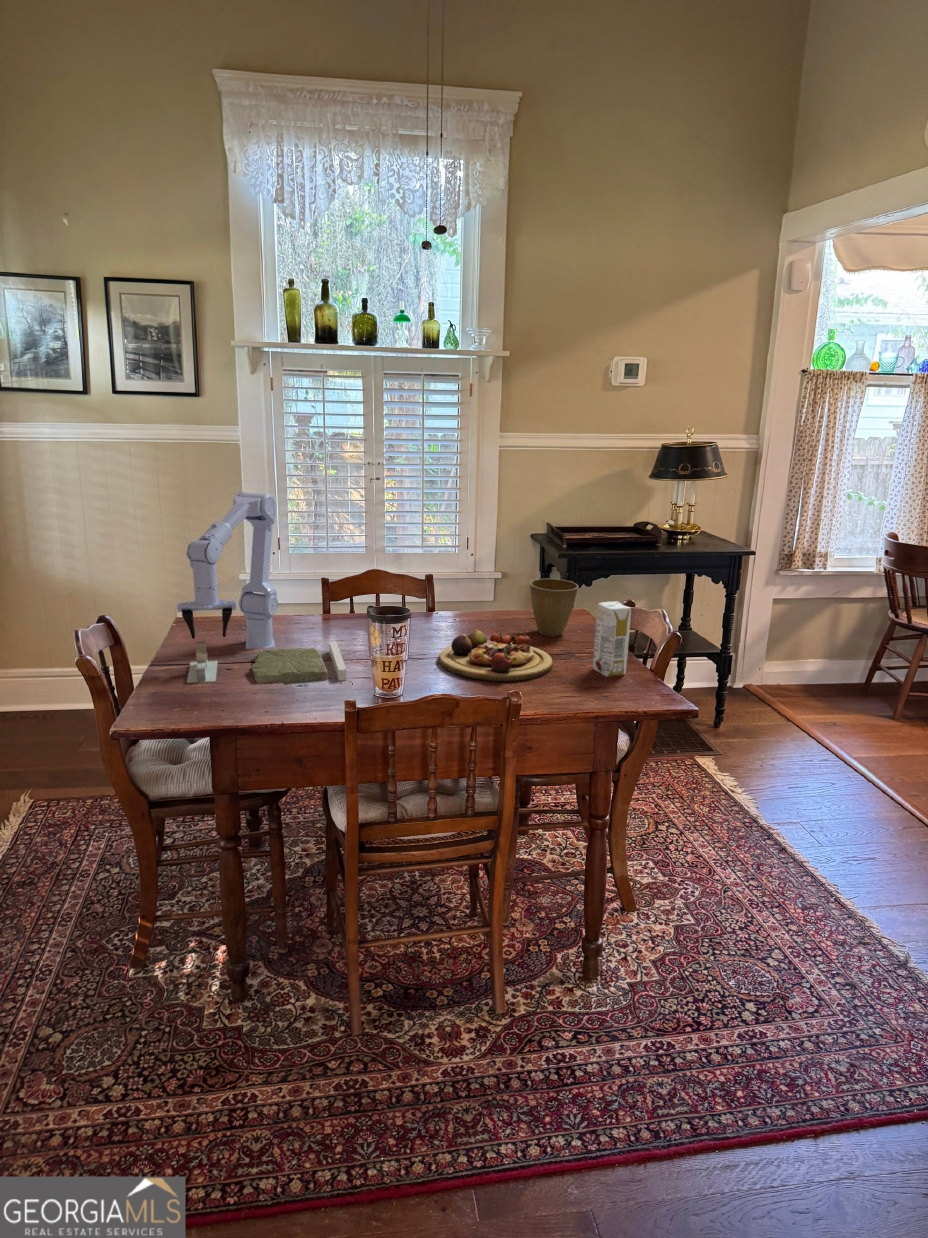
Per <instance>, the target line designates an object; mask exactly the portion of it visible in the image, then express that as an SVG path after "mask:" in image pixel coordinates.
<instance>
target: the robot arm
mask: <svg viewBox="0 0 928 1238" xmlns="http://www.w3.org/2000/svg"><path fill="white" fill-rule="evenodd" d="M276 510H277V501H276V500H275V499H274V497H273V496H272V494H270V493H255V492H254V493H253V492H244V491H240V492H237V494H236V496H235V497H233V500H232V507H231V508H230V509H229V511H228V512H227V513H226V515H225V516H224V517H223V519H222V520H221V521H219V520H218V521H213V522H212V523H211V525H210V527H208V529H207V530H206V531H205V532H204V533H203V534H202V535H201V536H200V537H199V538H198V539H197V538H195V539H193V540H192V541H191V542H189V544H188V546H187V551H186V552H185V553H186V558H187V559H188V561H189V563H190V565H189V566H190V568H191V569H192V574H193V575H192V577H193V588H194V589H193V590H194V600H193V601H187V602H186V601H185V602H177V603H176V604H177V605H176V609H177V610H176V611H177V613H181V616H182V619H183V620H184V622H185V623H186V625H187V627H188V630H189V632H190V636H191V639H193V640H195V638H196V632H195V631H196V630H195V623H194V622H195V621H194V612H196V611H199V612H200V611H216V610H217V611H220V610H221V619H222V620H221V621H222V638H226V637H227V634H226V633H227V628H228V625H229V621H230V619H231V616H232V614H233V611H235V610H236V611H237V601H236V600H223V599H222V600H221V599H220V600H219V590H218V576H217V574H218V573H217V562H218V561H219V560H220V557H221V554H222V551H223V547H224V546H225V545H226V544H227V543H228V542H229V541H230V540H231V538H232V537H233V530H234V529H235V528H237V527H238V526H239V524H241V523H242V522H243V521H244V520H245V521H247V522H249V523H250V525H251V526H252V527H253V529H252V530H253V531H252V543H251V544H252V546H251V557H250V560H251V561H250V573H249V575H250V576H249V582H248V583H246V584H245V585H244V586H243V587H241V593H240V597H239V600H238V607H239V611H240V612H241V613H242V614H243V617H245V619H246V620H245V623H246V624H245V625H246V639H245V649H246V650H257V649H274V648H275V647H276V646H275V637H273V636H274V634H273V633H274V631H273V617H274V616H275V614H276V612H277V611H278V608H279V600H278V590H277V589H276V588H275V587H274V586H272V584H270V582H269V581H270V568H271V567H270V566H271V554H272V541H273V540H272V538H273V526H274V524H275V523H276Z"/></svg>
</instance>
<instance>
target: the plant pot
mask: <svg viewBox="0 0 928 1238" xmlns="http://www.w3.org/2000/svg"><path fill="white" fill-rule="evenodd" d="M529 589H530V599H531V605H532V611H533V616H534V619H535V625H536V628H537V631H538V633H539V634H540V635H541V636H547V637H559V636H562V635H563V633H564V631H565V629H566V627H567V625H568V622H569V620H570V617H571V615H572V611H573V609H574V606H575V601H576V597H577V595H578V594H577V593H578V589H579V584H577V583H575V582H573V581H570V580H564V579H559V578H539V579H537V578H536V579H533V580H531V581H529Z"/></svg>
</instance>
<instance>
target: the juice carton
mask: <svg viewBox="0 0 928 1238" xmlns="http://www.w3.org/2000/svg"><path fill="white" fill-rule="evenodd" d="M631 615H632V607H630V606H627V605H624V604H623V603H621V602H619V601H618V600H617V601H616V600H615V601H604V602H597V608H596V620H595V630H594V645H593V657H592V658H593V659H592V668H593V670H594V671H596V672H598V673H600V674H601V675H603V676H604V677H615V676H617V677H618V676H624V675H626V670H627V663H628V662H627V661H628V651H629V649H628V648H629V642H630V640H629V639H630V629H631V620H632V619H631V618H632V616H631Z"/></svg>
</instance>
